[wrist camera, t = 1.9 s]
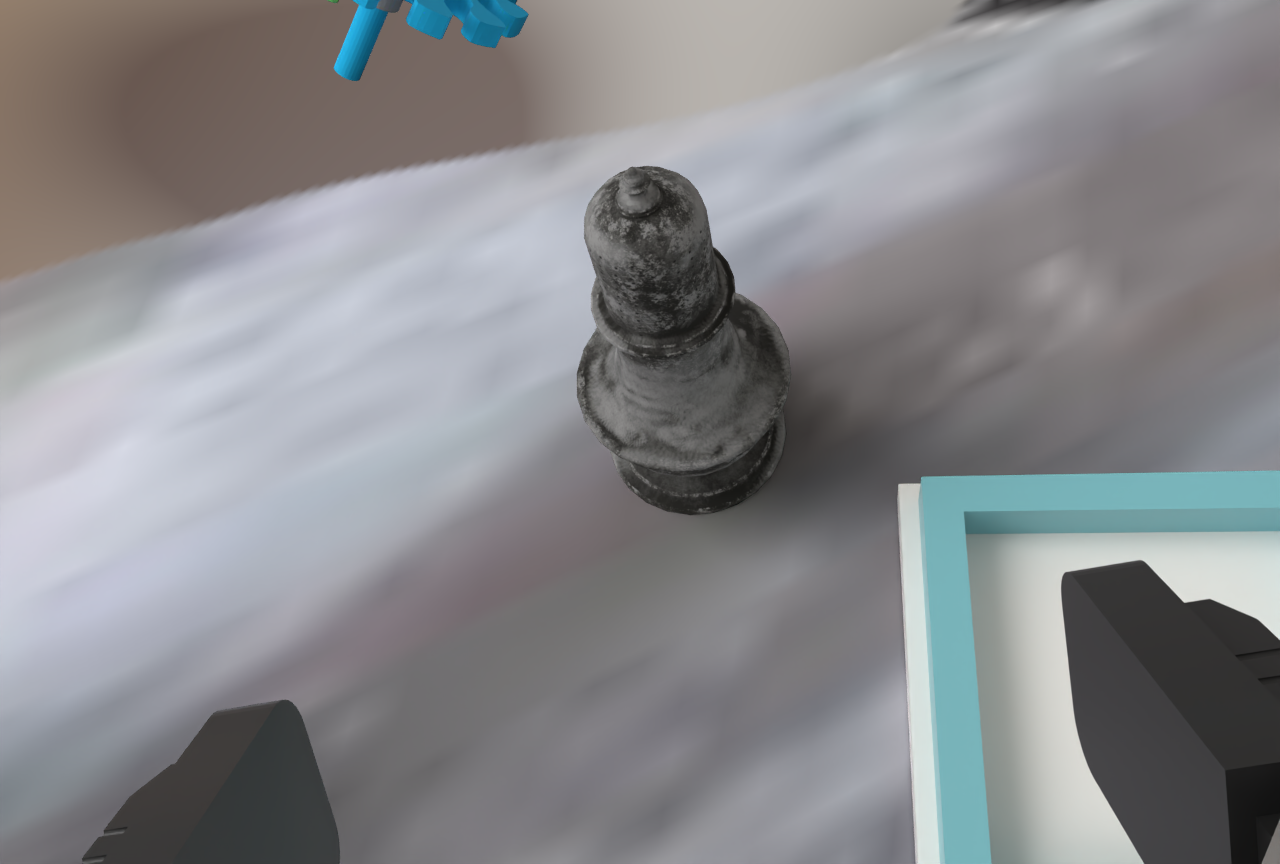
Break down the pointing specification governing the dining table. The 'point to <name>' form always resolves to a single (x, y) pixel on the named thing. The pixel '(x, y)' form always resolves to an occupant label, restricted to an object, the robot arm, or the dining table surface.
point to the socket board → (1046, 639)
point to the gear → (427, 25)
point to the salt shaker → (677, 351)
